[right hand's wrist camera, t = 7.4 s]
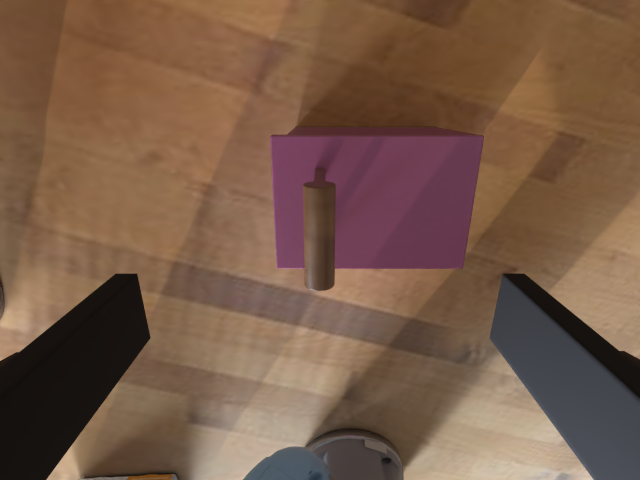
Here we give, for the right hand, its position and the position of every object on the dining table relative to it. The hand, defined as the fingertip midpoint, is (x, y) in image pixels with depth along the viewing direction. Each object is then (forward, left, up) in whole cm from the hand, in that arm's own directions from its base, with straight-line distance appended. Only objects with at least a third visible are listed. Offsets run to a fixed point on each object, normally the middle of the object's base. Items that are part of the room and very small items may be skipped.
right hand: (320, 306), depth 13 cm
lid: (+2, -3, -15) cm, 15 cm away
